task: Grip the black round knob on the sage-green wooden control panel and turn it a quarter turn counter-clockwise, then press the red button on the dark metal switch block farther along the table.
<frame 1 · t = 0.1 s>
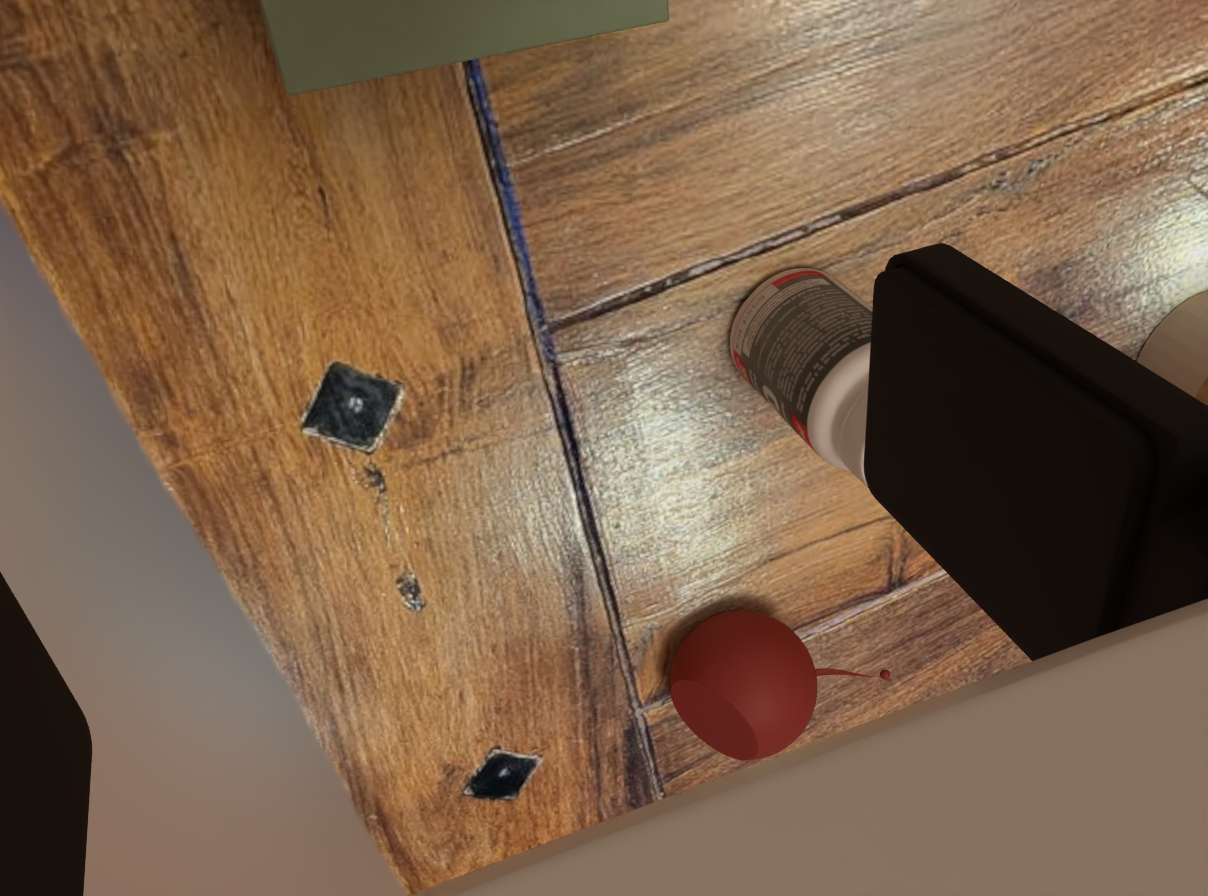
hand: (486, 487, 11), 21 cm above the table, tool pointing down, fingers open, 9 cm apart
coffee cup: (1187, 350, 46), on the table
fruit: (742, 632, 46), on the table
pill bottle: (783, 323, 38), on the table
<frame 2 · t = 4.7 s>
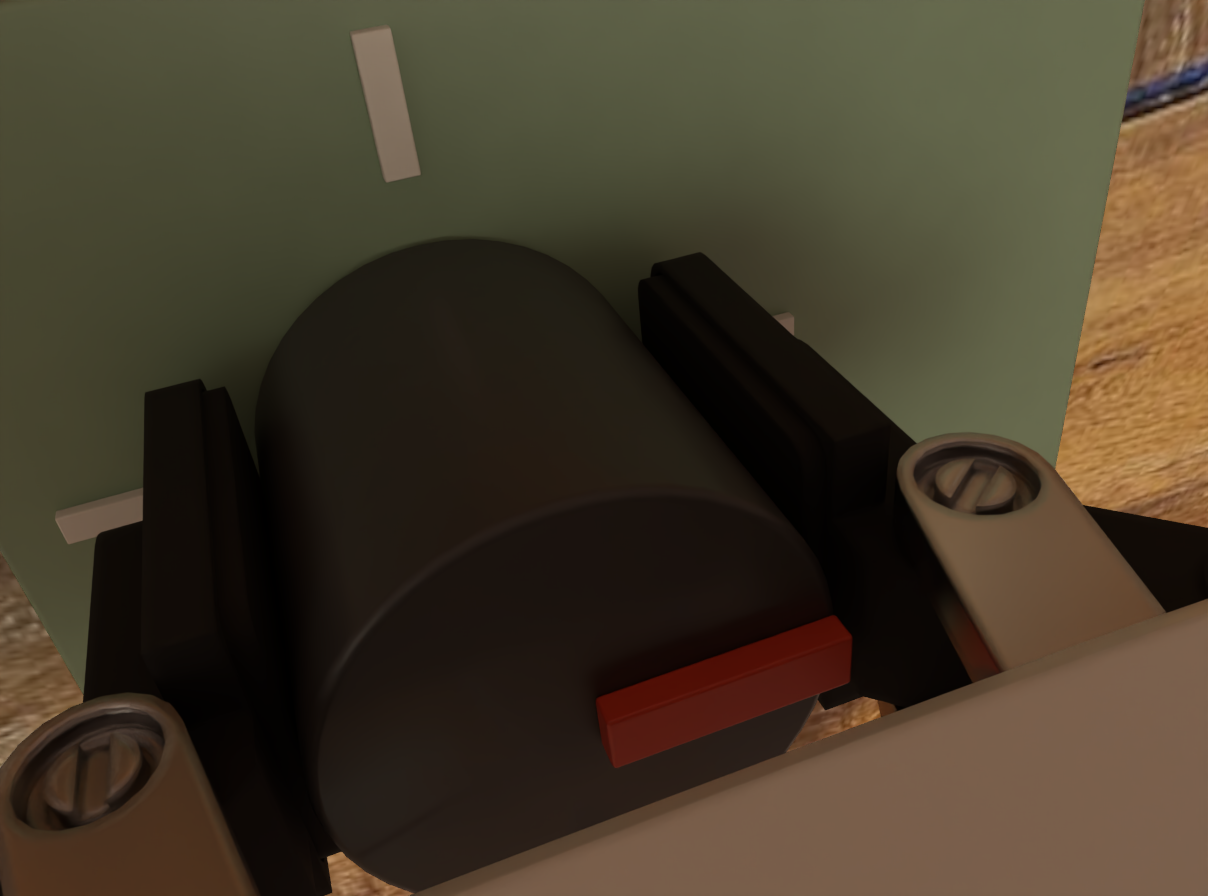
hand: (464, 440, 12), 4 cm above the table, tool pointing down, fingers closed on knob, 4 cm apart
panel: (542, 273, 15), on the table
knob: (515, 551, 10), point 6 cm above the table, hinge at 0.2°, touching gripper
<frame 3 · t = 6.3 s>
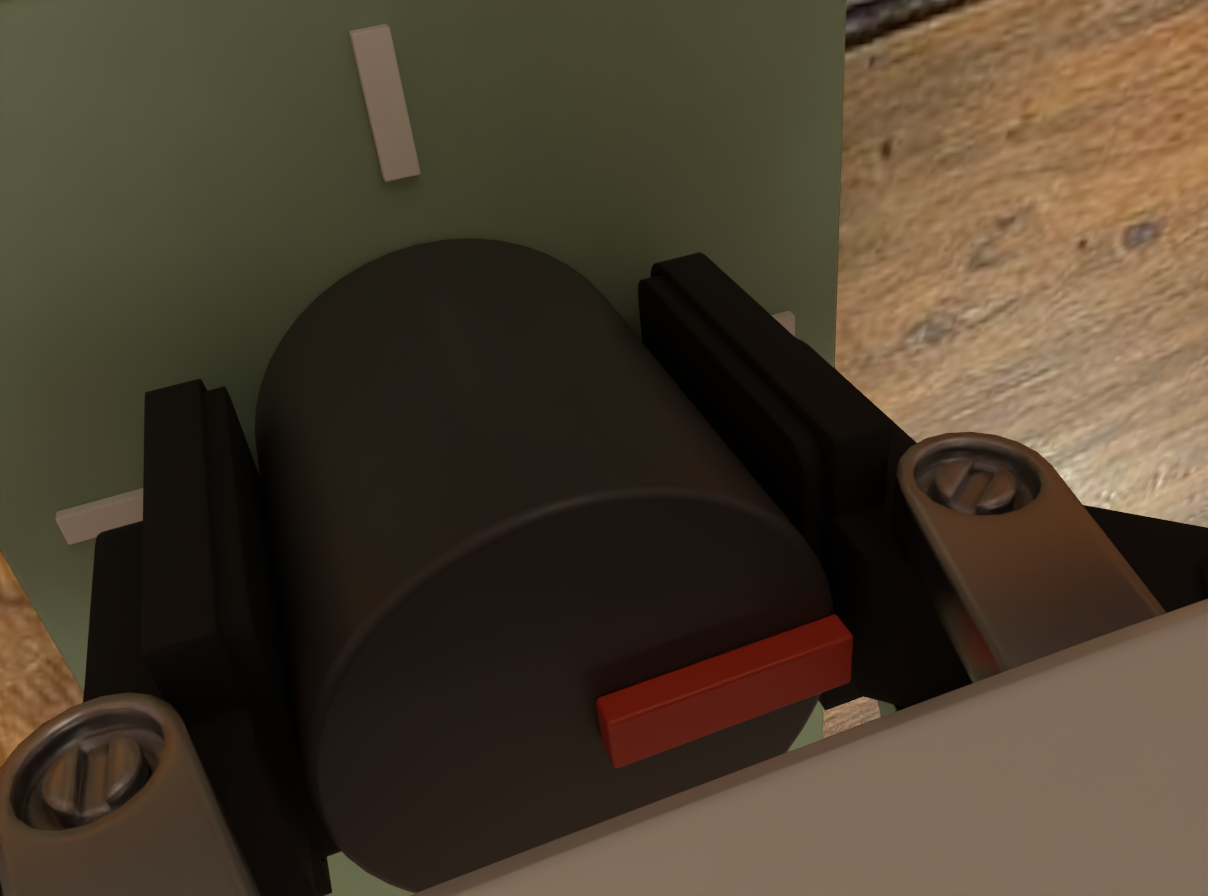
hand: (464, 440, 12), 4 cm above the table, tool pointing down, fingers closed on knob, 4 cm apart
panel: (433, 425, 16), on the table
knob: (515, 550, 10), point 6 cm above the table, hinge at 90.3°, touching gripper
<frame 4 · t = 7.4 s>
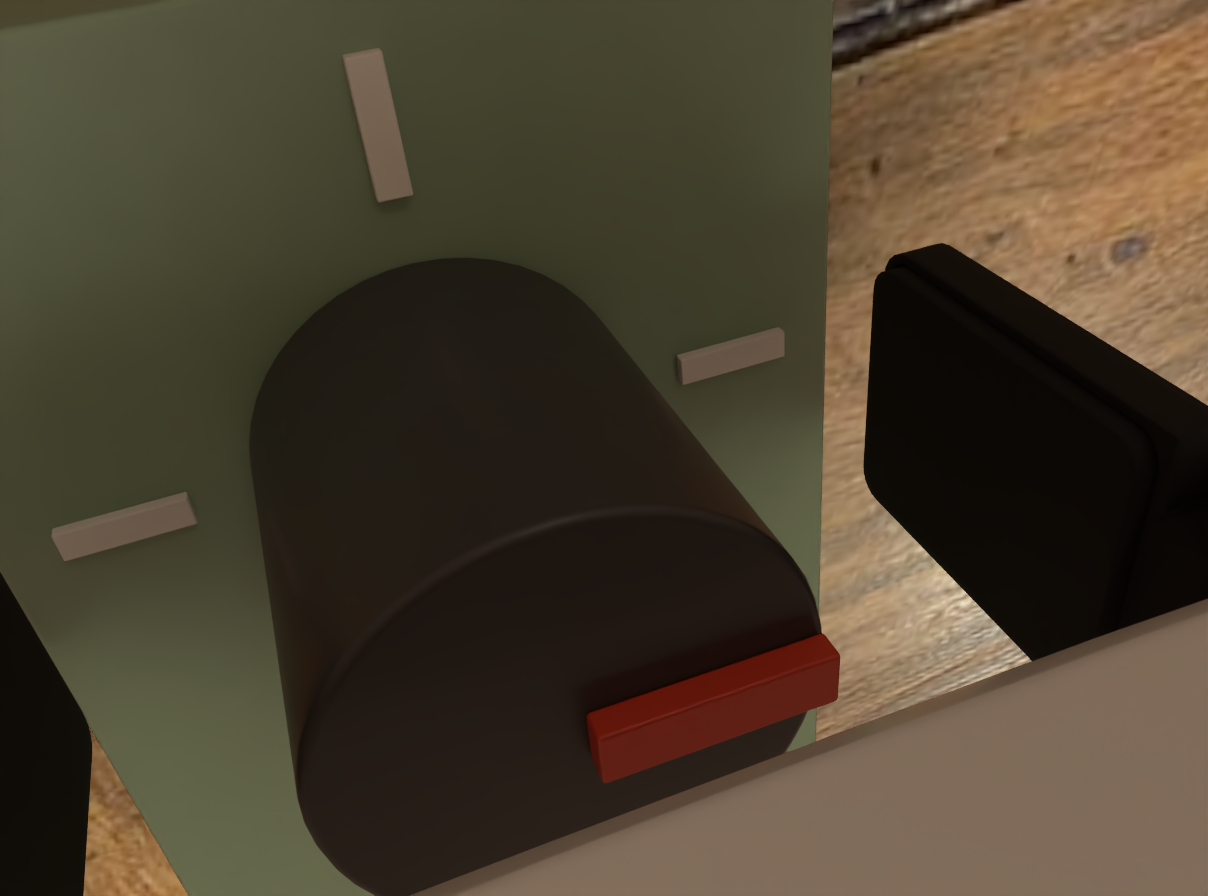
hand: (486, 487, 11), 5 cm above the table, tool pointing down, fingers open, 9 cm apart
panel: (427, 440, 16), on the table
knob: (507, 566, 10), point 6 cm above the table, hinge at 89.1°
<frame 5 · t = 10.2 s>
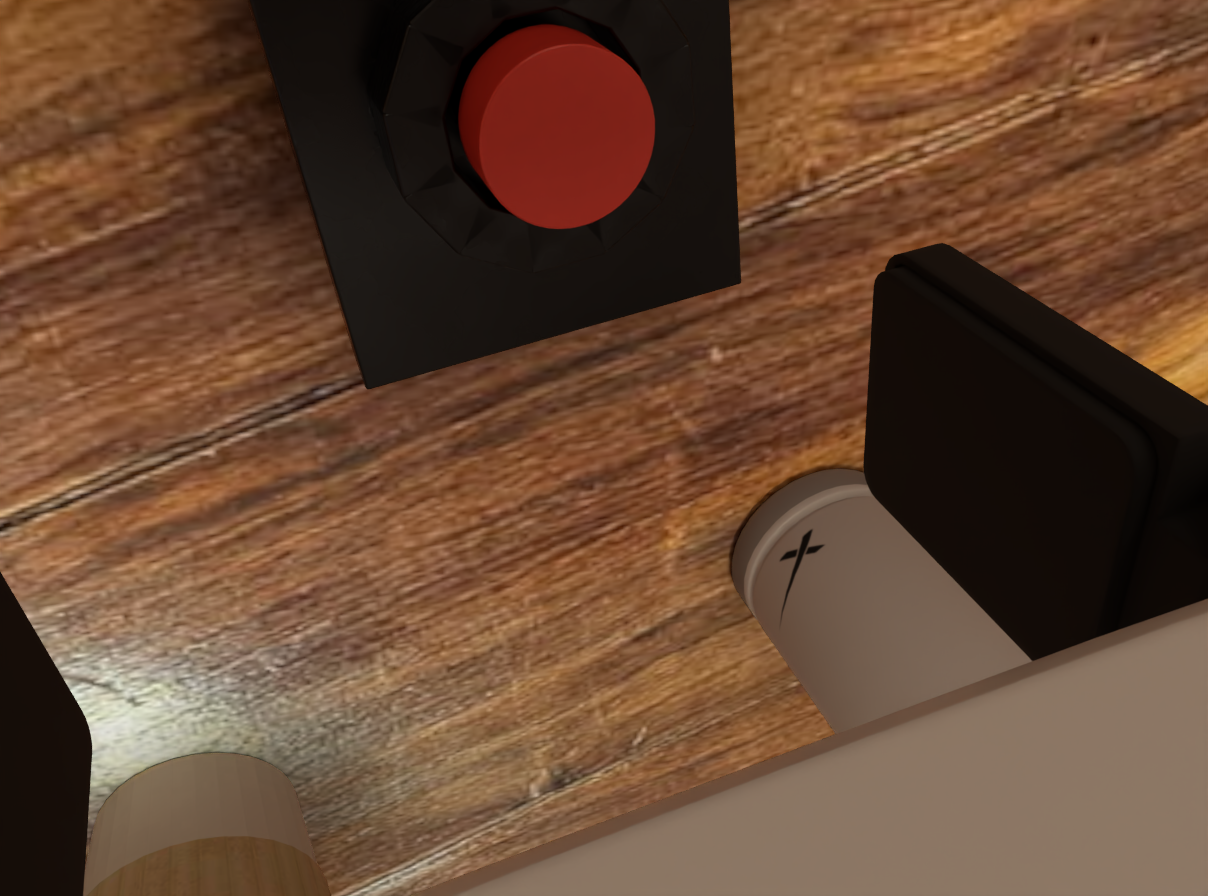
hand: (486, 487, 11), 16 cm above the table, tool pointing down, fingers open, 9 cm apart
switch block: (496, 72, 24), on the table
coffee cup: (198, 816, 34), on the table
button: (556, 128, 21), point 5 cm above the table, slide at 0.2 cm
travel mug: (802, 537, 37), on the table
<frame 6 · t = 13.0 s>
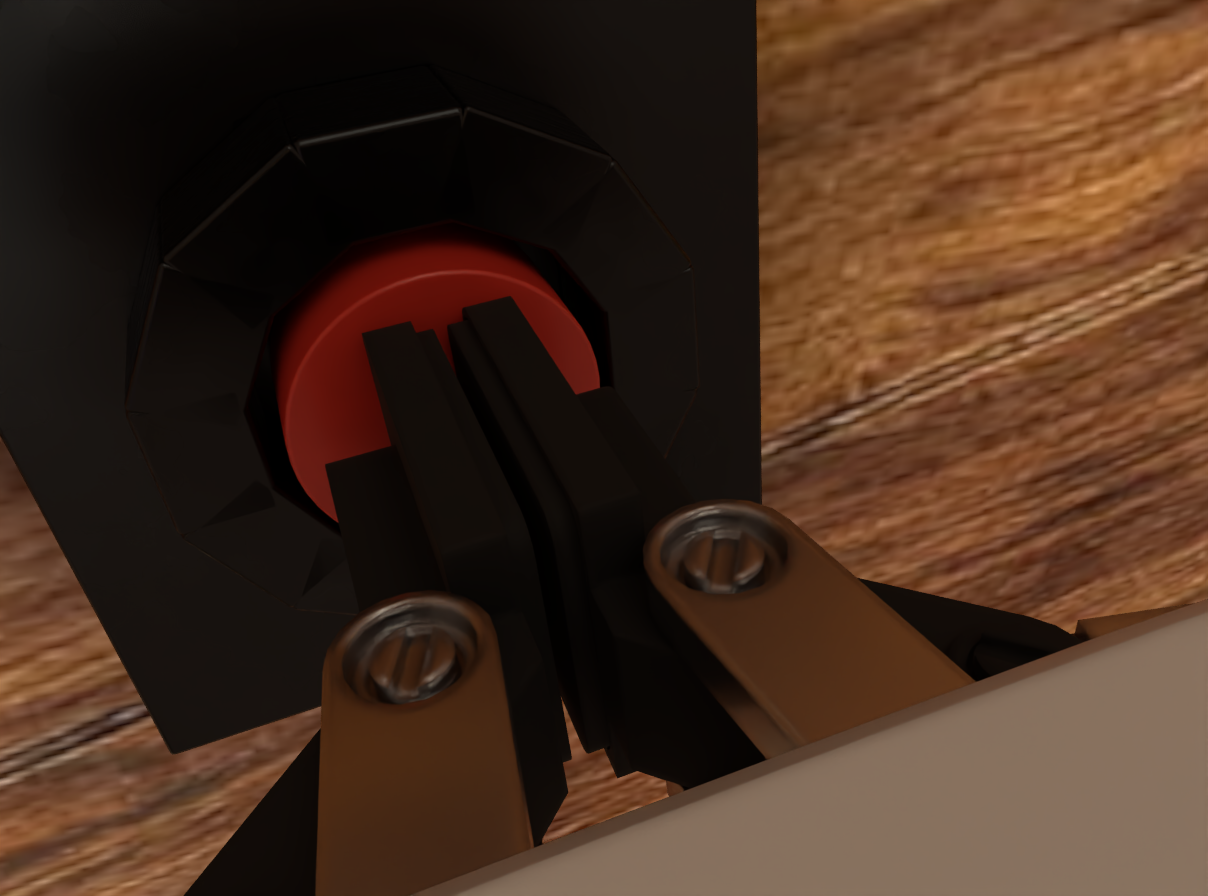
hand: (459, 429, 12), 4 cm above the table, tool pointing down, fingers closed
switch block: (381, 265, 15), on the table
button: (434, 383, 12), point 4 cm above the table, slide at -0.8 cm, touching gripper
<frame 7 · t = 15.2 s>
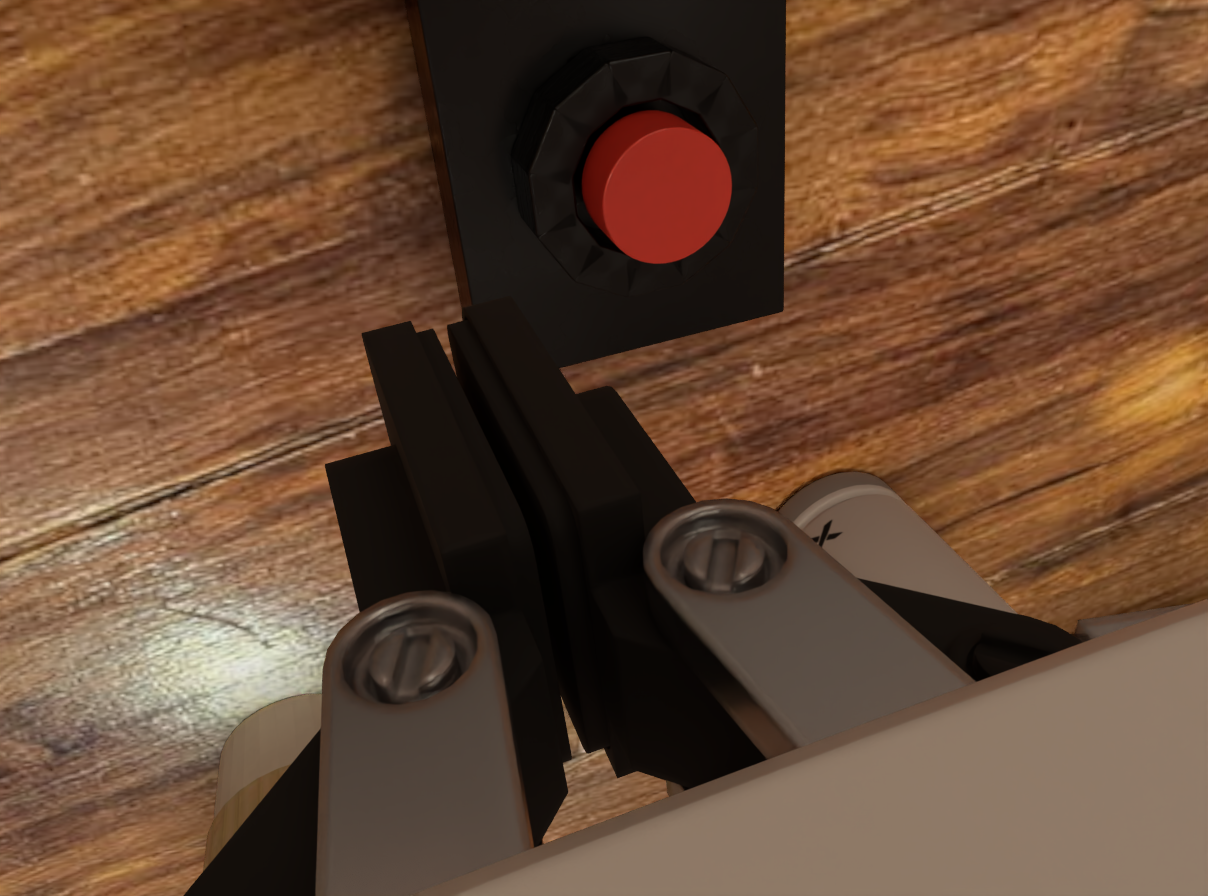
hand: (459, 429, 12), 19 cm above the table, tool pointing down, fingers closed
switch block: (600, 140, 31), on the table
coffee cup: (304, 750, 40), on the table
button: (656, 187, 27), point 5 cm above the table, slide at 0.1 cm
travel mug: (820, 531, 43), on the table
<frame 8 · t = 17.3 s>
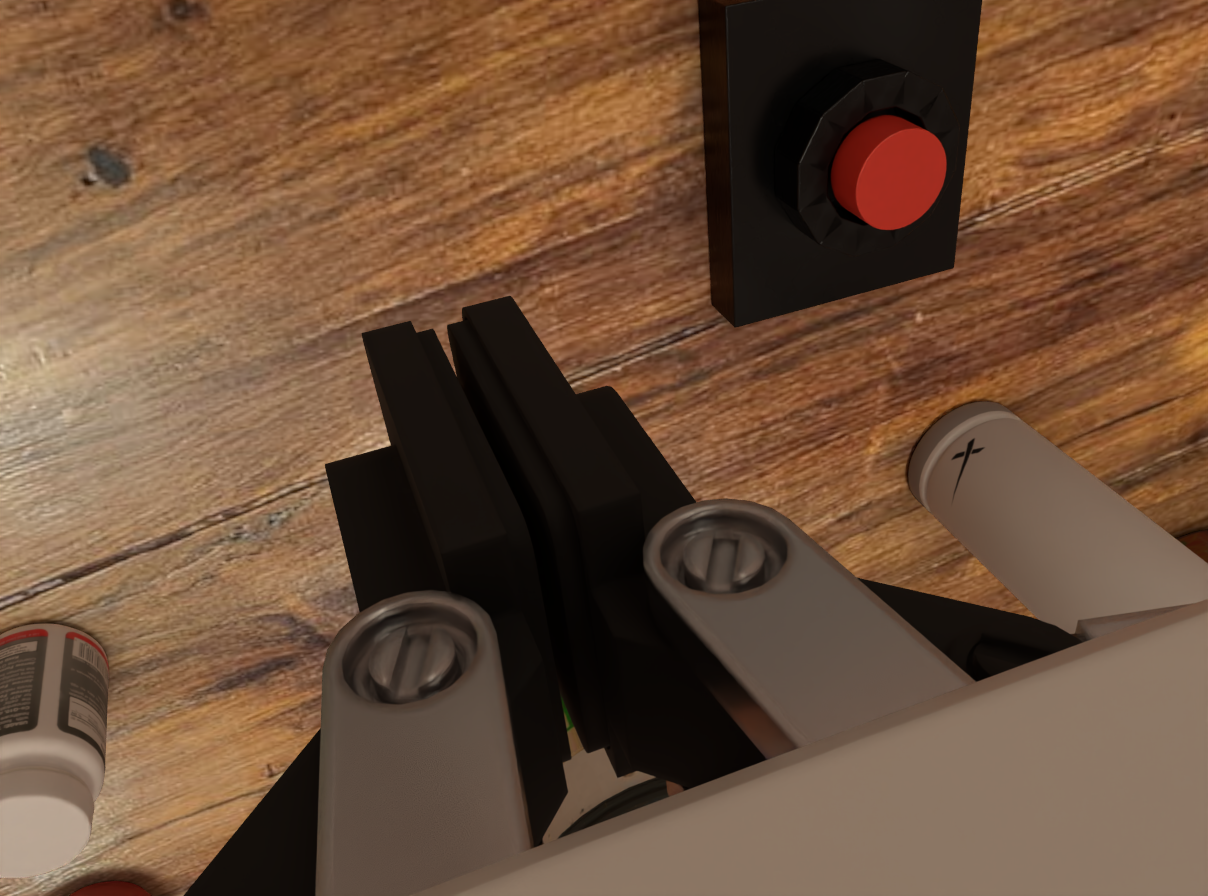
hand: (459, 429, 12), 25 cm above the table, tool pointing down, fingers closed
switch block: (823, 135, 40), on the table
food container: (1156, 605, 67), on the table
coffee cup: (548, 630, 50), on the table
button: (888, 172, 37), point 5 cm above the table, slide at 0.1 cm
travel mug: (954, 452, 53), on the table
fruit: (129, 894, 49), on the table
pill bottle: (43, 662, 41), on the table
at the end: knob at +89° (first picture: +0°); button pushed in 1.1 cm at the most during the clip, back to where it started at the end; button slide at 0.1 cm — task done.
